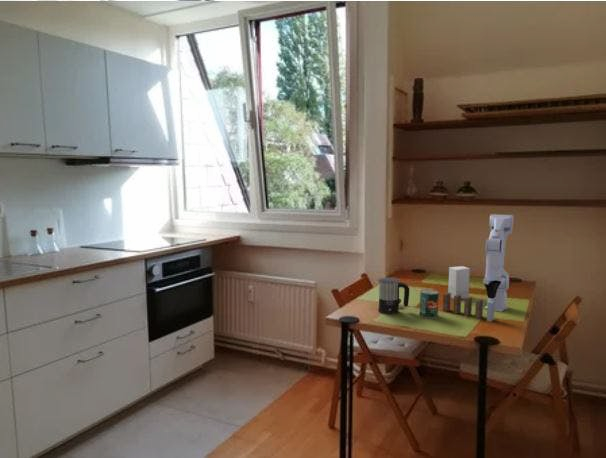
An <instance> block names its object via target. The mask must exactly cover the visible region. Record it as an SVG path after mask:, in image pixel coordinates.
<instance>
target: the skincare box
mask: <svg viewBox="0 0 606 458" xmlns="http://www.w3.org/2000/svg"><path fill="white" fill-rule="evenodd" d="M470 272H471V268H469V267H467V266H462V265H461V266H451V267H450V266H448V287H447V289H448V290H447V292H448V293H451V299H453V300H454V296H455V295H461V300H463V299H464V300H465V298H466V297H470V295H469V294H470V293H469V291H470V289H469V288H470V274H471V273H470Z"/></svg>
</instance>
